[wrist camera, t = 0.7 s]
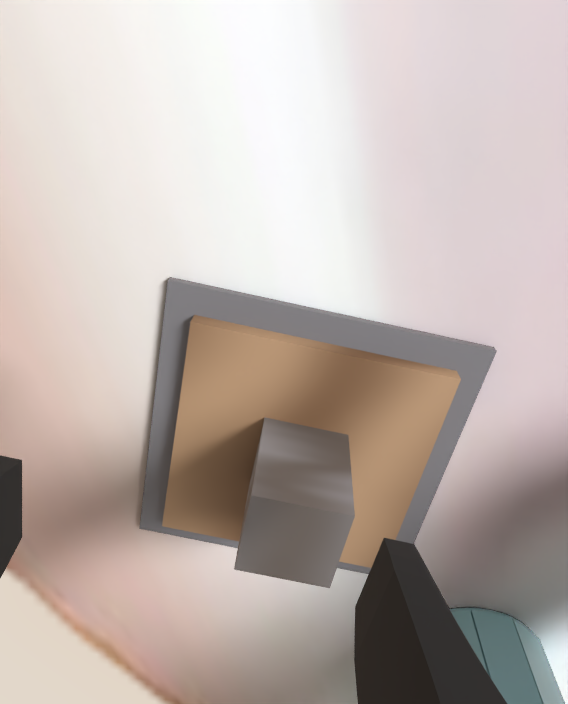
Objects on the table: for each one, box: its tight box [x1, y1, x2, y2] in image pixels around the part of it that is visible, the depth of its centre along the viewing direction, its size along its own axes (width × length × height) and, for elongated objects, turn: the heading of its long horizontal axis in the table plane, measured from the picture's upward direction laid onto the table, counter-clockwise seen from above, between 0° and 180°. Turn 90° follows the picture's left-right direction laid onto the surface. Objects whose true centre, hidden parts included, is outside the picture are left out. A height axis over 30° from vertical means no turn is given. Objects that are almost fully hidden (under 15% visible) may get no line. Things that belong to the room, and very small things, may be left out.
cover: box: [162, 315, 461, 588], centre depth 18 cm, size 9×9×5 cm
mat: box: [140, 277, 496, 574], centre depth 20 cm, size 11×11×1 cm
